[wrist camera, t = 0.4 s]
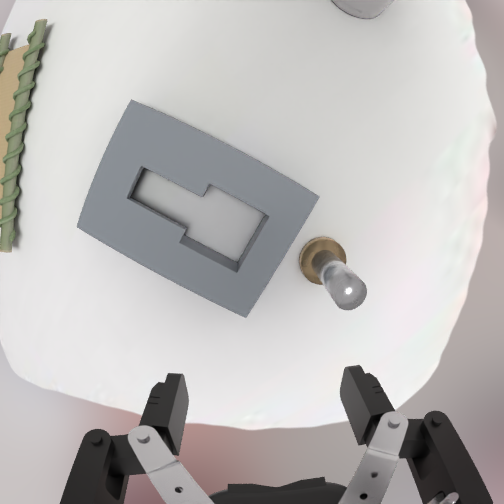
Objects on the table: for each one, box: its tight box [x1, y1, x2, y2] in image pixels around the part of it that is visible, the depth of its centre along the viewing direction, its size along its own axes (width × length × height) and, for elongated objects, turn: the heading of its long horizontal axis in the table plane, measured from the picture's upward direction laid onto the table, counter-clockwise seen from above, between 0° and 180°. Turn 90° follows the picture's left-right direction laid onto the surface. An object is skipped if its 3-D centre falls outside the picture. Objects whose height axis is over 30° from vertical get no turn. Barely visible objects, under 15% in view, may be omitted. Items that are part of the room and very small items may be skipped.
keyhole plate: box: [77, 100, 319, 318], centre depth 35 cm, size 18×26×4 cm
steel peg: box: [299, 237, 367, 310], centre depth 33 cm, size 6×6×12 cm
